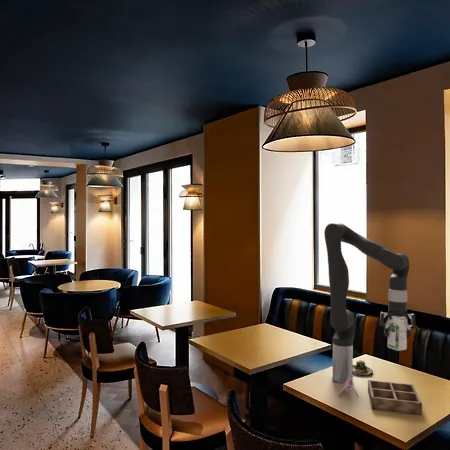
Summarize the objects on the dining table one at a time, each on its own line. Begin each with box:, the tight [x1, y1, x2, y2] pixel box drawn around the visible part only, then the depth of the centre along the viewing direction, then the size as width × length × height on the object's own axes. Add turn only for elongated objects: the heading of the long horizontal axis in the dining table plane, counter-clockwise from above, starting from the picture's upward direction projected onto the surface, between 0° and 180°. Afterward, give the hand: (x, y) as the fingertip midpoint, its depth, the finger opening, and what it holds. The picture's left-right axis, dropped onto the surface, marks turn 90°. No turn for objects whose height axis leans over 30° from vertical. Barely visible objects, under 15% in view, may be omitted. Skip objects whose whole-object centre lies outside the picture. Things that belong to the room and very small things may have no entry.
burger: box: [353, 359, 374, 376], centre depth 198 cm, size 12×12×8 cm
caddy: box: [367, 379, 423, 416], centre depth 166 cm, size 18×18×5 cm
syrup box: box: [387, 316, 408, 352], centre depth 171 cm, size 6×6×14 cm
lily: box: [337, 373, 359, 397], centre depth 173 cm, size 12×12×10 cm
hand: (397, 337), depth 171 cm, fingers closed on syrup box, 7 cm apart
